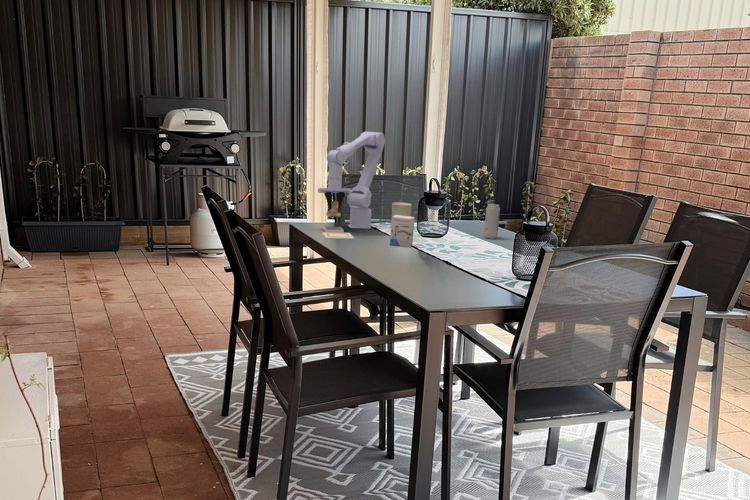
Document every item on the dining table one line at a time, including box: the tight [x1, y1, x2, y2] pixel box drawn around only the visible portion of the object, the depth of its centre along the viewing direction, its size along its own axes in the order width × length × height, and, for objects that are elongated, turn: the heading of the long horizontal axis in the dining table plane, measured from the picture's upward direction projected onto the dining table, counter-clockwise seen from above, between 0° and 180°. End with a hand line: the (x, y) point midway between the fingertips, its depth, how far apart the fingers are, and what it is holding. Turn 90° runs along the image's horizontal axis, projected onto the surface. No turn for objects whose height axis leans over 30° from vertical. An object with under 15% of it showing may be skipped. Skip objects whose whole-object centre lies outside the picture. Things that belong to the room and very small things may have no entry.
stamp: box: [325, 200, 342, 218], centre depth 294 cm, size 5×5×7 cm
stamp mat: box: [321, 231, 356, 240], centre depth 284 cm, size 12×12×1 cm
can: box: [390, 201, 413, 229], centre depth 311 cm, size 9×9×12 cm
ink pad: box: [322, 226, 345, 233], centre depth 296 cm, size 8×8×1 cm
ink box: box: [389, 215, 415, 248], centre depth 271 cm, size 9×5×12 cm, turn 73°
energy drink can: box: [483, 203, 501, 240], centre depth 299 cm, size 6×6×15 cm
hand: (333, 209), depth 294 cm, fingers closed on stamp, 3 cm apart
